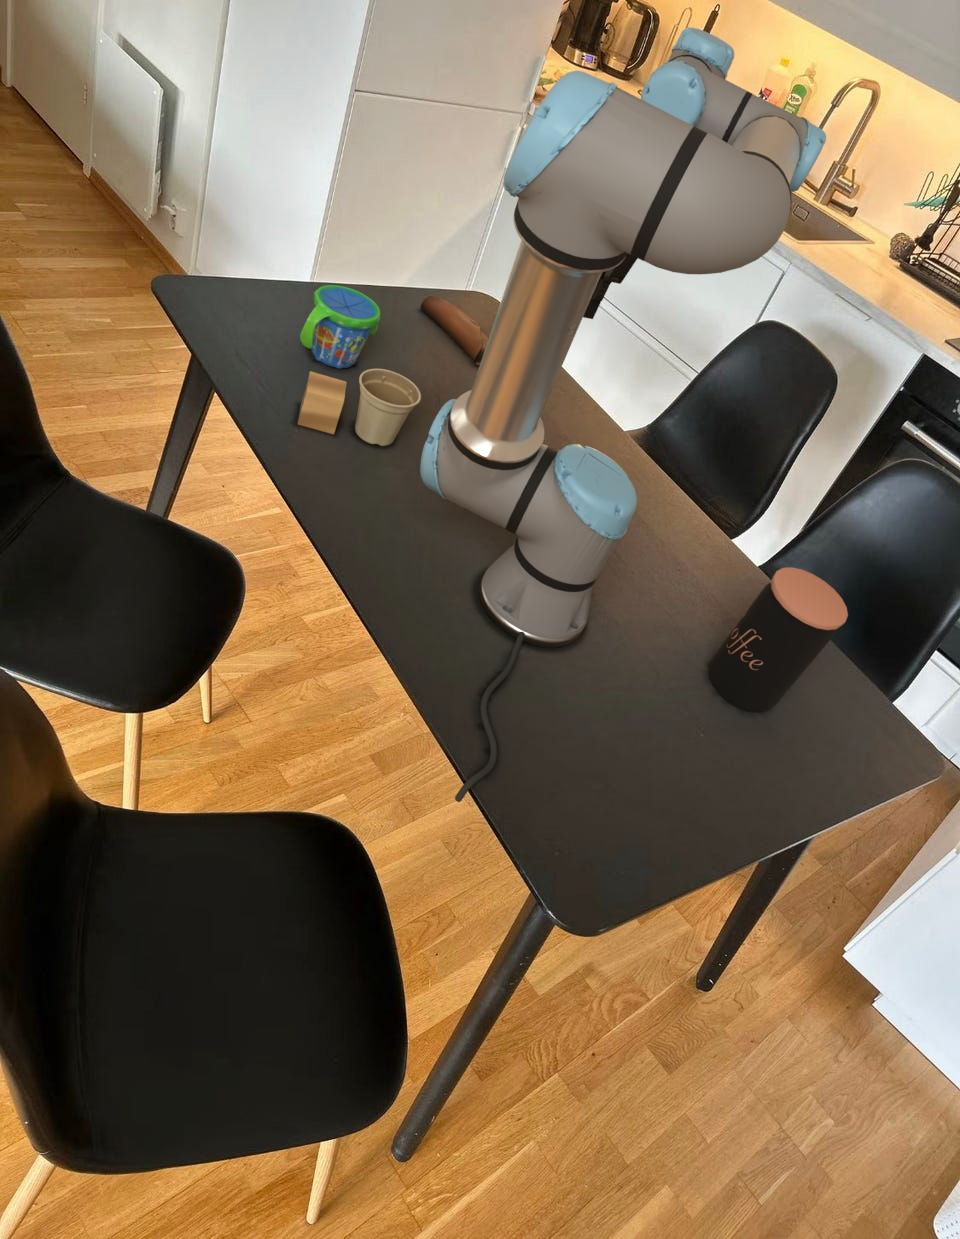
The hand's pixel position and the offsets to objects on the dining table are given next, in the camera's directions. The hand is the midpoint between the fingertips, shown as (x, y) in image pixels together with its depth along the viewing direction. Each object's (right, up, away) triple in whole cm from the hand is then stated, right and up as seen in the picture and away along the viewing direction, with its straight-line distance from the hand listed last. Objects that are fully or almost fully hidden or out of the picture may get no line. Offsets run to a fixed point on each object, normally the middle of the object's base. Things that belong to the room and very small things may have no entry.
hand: (583, 314), depth 147 cm
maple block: (-40, -16, 0) cm, 43 cm away
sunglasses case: (-19, +7, +35) cm, 41 cm away
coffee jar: (+21, -55, -10) cm, 60 cm away
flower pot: (-32, -18, +3) cm, 36 cm away
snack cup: (-40, -3, +14) cm, 42 cm away
